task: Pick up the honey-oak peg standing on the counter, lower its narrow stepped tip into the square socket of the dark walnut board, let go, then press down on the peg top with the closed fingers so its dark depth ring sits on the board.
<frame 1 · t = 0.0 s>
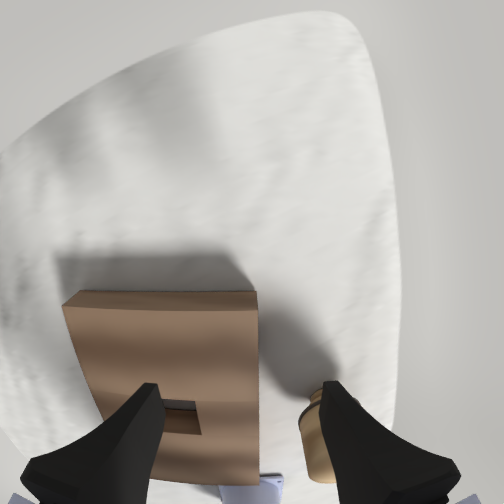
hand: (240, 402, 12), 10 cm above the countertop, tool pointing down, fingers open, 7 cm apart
oak peg: (324, 398, 24), on the countertop
walnut board: (180, 401, 24), on the countertop
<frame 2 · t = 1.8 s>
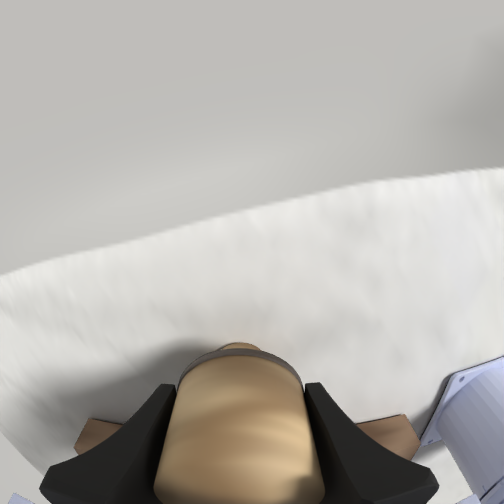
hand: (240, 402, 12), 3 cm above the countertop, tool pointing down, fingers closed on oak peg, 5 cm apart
oak peg: (241, 363, 14), on the countertop, touching gripper
walnut board: (247, 483, 18), on the countertop
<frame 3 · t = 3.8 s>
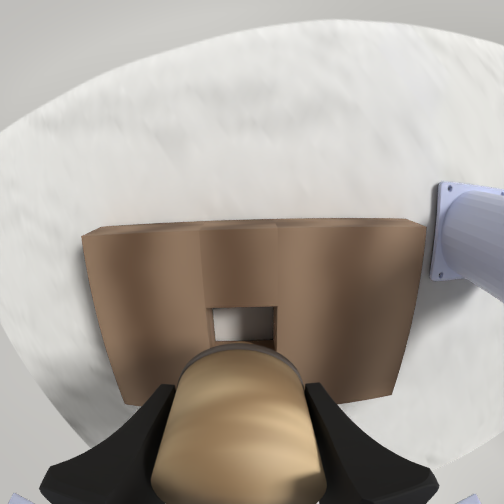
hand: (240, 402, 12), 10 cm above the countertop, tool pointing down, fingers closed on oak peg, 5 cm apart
oak peg: (241, 362, 14), point 7 cm above the countertop, touching gripper
walnut board: (256, 315, 21), on the countertop
when the fingers open (4 cm above the countertop, at t = 6.2 s): oak peg stays where it is, resting on walnut board.
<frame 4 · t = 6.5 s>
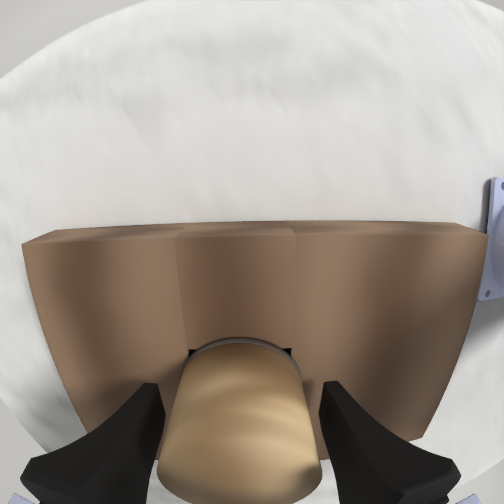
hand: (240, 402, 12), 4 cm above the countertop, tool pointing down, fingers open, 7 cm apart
oak peg: (241, 354, 15), resting on walnut board
walnut board: (260, 351, 15), on the countertop
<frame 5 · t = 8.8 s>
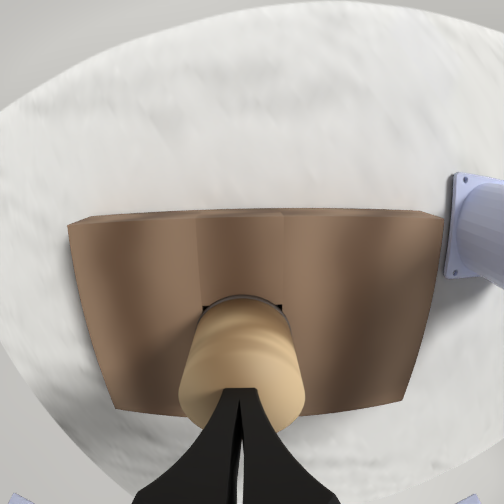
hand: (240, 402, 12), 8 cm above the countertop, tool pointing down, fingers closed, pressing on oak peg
oak peg: (243, 316, 19), resting on walnut board, touching gripper
walnut board: (258, 314, 20), on the countertop
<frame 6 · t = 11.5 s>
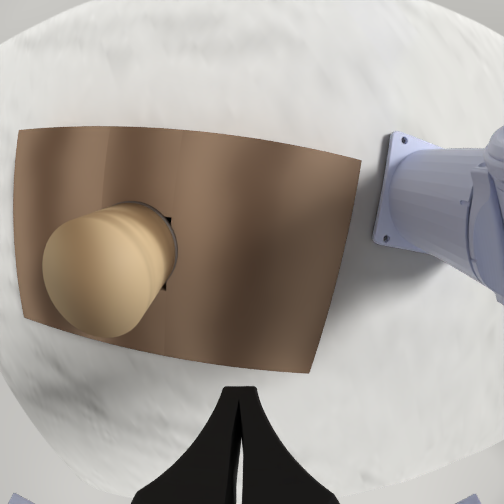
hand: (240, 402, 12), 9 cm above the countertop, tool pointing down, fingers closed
oak peg: (146, 237, 19), resting on walnut board
walnut board: (162, 240, 19), on the countertop
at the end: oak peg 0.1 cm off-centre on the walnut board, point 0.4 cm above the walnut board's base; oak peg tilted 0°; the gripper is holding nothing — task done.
